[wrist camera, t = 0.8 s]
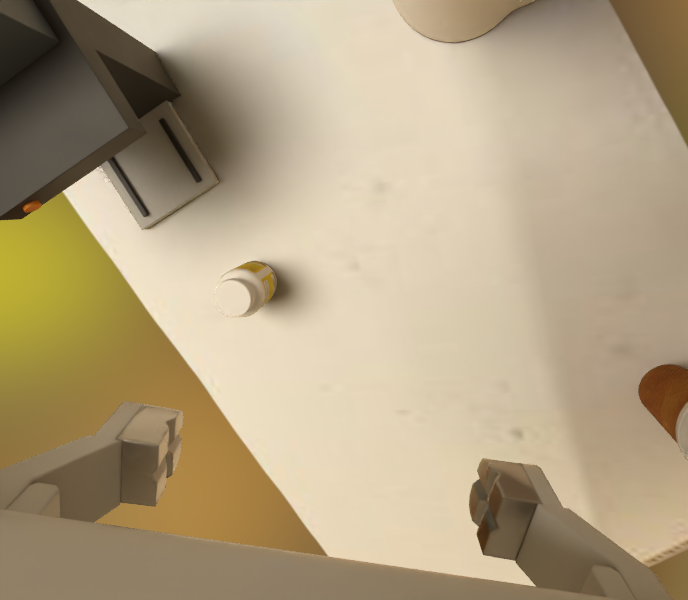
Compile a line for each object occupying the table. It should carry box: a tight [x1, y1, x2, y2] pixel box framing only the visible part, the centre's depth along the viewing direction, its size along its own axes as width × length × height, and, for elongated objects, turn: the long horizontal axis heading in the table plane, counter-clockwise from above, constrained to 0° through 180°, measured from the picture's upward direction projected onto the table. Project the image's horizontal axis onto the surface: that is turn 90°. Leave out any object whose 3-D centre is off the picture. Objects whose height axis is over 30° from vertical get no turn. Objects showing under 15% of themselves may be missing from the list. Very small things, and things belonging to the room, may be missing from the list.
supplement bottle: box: [214, 261, 277, 317], centre depth 54 cm, size 5×5×10 cm
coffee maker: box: [0, 0, 219, 230], centre depth 44 cm, size 16×14×27 cm
